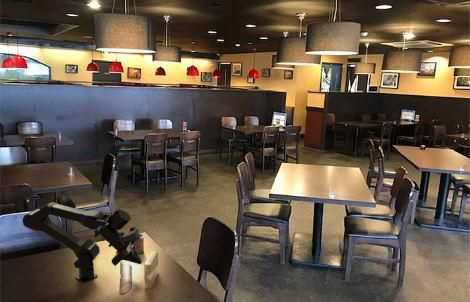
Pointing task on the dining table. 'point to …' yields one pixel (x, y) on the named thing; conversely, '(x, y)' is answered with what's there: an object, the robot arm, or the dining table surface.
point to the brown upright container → (139, 245)
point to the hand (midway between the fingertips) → (141, 263)
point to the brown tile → (151, 269)
